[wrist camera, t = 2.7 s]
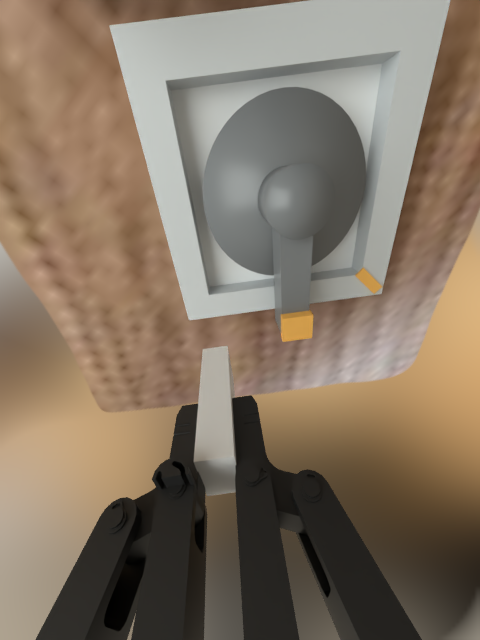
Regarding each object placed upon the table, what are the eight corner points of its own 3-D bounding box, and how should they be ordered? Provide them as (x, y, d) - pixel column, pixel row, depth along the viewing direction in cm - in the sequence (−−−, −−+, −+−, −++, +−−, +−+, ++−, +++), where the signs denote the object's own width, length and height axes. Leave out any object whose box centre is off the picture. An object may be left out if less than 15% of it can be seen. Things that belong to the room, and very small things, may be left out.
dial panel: (131, 55, 17) (107, 23, 13) (407, 20, 17) (457, -21, 13) (192, 302, 27) (188, 321, 24) (361, 279, 28) (382, 294, 24)
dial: (187, 106, 17) (174, 75, 11) (367, 83, 17) (434, 42, 12) (224, 315, 26) (225, 350, 21) (339, 299, 26) (369, 330, 21)
